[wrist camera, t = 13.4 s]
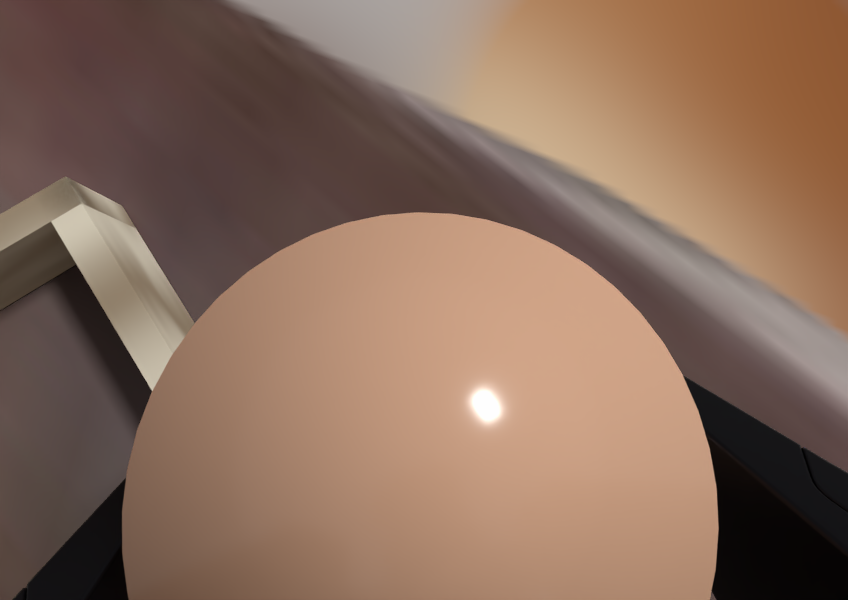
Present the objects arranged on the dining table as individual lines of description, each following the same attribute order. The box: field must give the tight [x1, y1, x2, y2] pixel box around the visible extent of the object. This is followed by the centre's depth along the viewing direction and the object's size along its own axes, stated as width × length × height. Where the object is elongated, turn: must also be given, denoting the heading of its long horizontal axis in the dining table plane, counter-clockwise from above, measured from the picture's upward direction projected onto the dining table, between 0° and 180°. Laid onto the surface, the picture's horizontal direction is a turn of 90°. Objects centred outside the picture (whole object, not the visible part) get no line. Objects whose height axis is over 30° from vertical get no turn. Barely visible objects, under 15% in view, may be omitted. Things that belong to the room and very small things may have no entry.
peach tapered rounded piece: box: [122, 212, 719, 600], centre depth 11 cm, size 7×7×12 cm
